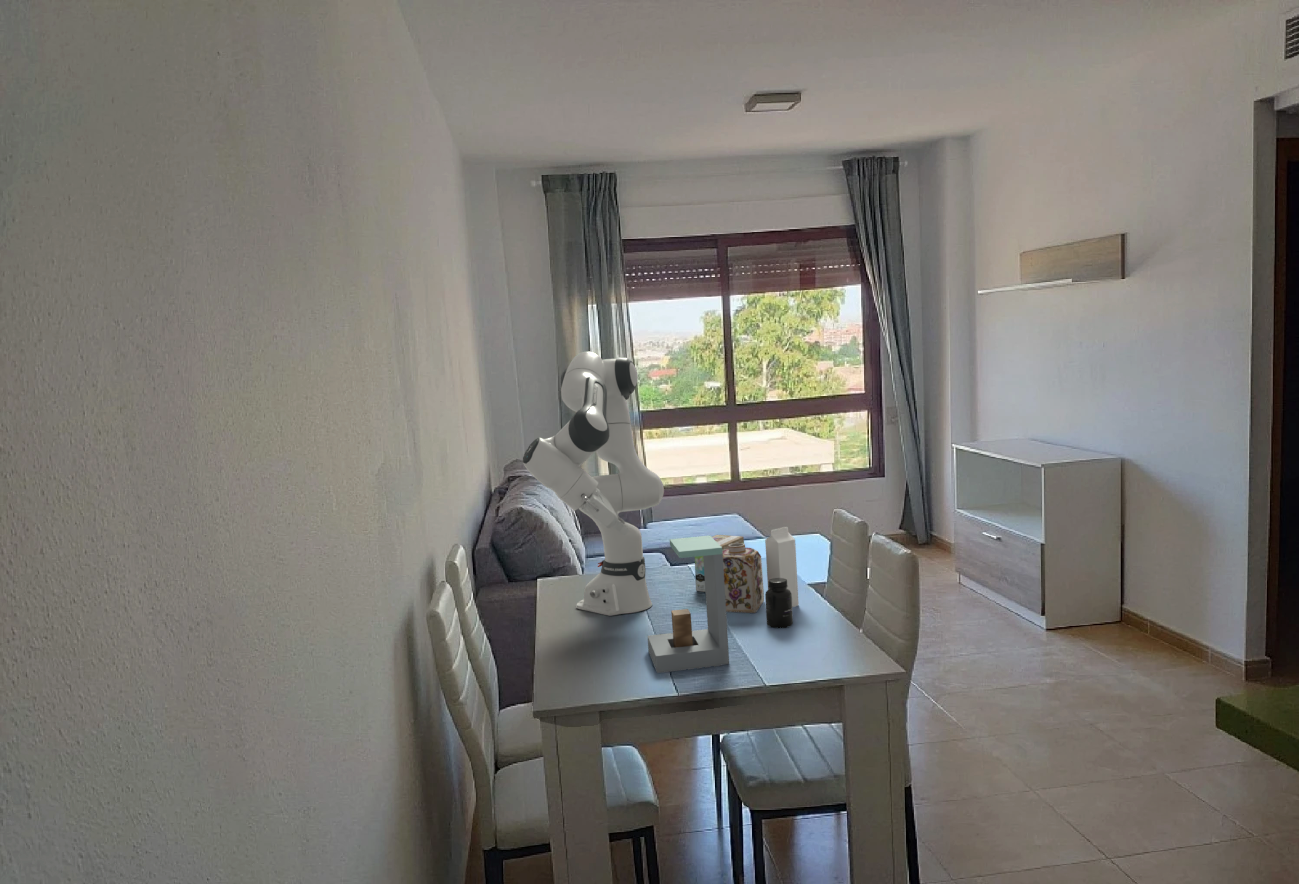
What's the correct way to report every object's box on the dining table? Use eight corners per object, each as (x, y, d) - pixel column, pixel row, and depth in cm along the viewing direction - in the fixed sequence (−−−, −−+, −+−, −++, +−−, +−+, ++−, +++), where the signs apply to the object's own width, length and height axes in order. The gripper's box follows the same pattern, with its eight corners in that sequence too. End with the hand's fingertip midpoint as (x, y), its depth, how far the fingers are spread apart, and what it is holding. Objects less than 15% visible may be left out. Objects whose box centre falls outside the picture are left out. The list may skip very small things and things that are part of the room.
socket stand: (657, 672, 201) (648, 555, 198) (648, 651, 216) (640, 541, 213) (729, 664, 203) (722, 547, 200) (716, 643, 218) (709, 535, 215)
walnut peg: (677, 660, 207) (673, 615, 206) (674, 655, 211) (671, 610, 210) (693, 658, 208) (690, 613, 207) (690, 653, 212) (687, 608, 211)
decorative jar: (756, 613, 240) (752, 549, 238) (715, 612, 244) (711, 549, 242) (765, 601, 251) (761, 539, 250) (725, 600, 255) (721, 539, 253)
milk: (798, 605, 245) (795, 528, 242) (781, 610, 242) (777, 531, 240) (785, 601, 250) (781, 525, 248) (768, 605, 247) (764, 528, 245)
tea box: (724, 594, 261) (721, 545, 260) (695, 591, 266) (692, 543, 265) (746, 581, 274) (744, 535, 272) (718, 579, 279) (715, 533, 277)
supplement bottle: (792, 629, 225) (790, 583, 224) (765, 629, 227) (763, 583, 225) (793, 620, 232) (791, 576, 231) (767, 620, 233) (765, 576, 232)
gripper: (592, 488, 198) (638, 526, 200) (587, 476, 219) (628, 511, 221) (574, 509, 198) (620, 547, 200) (570, 495, 218) (612, 530, 221)
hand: (624, 528), depth 211 cm, fingers open, 8 cm apart
